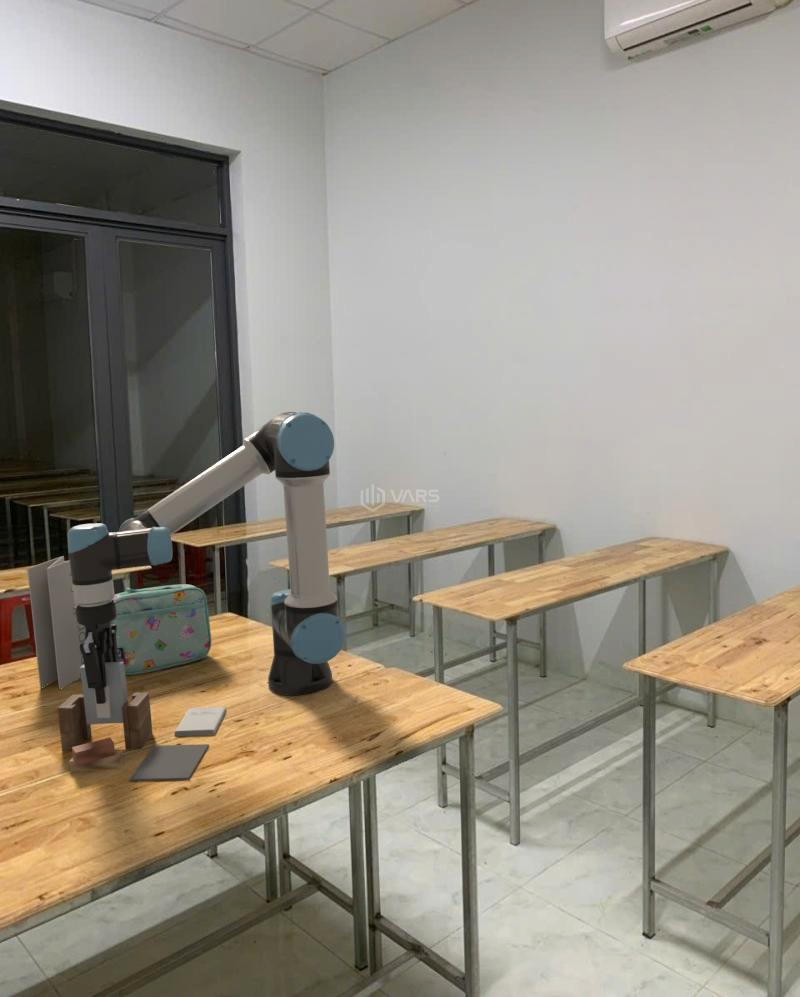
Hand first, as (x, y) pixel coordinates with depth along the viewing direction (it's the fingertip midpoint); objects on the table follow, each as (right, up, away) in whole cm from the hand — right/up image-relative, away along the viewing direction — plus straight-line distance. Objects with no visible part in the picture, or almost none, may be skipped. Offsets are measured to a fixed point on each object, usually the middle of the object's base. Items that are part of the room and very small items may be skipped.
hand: (107, 713), depth 167 cm
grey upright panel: (0, -2, 0) cm, 2 cm away
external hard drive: (+17, -5, +9) cm, 20 cm away
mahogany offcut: (+1, -5, -11) cm, 12 cm away
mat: (+15, -7, -10) cm, 20 cm away
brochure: (-24, -2, +39) cm, 46 cm away
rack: (0, -6, +1) cm, 6 cm away
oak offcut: (+2, -8, -10) cm, 13 cm away
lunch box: (-3, 0, +47) cm, 47 cm away
